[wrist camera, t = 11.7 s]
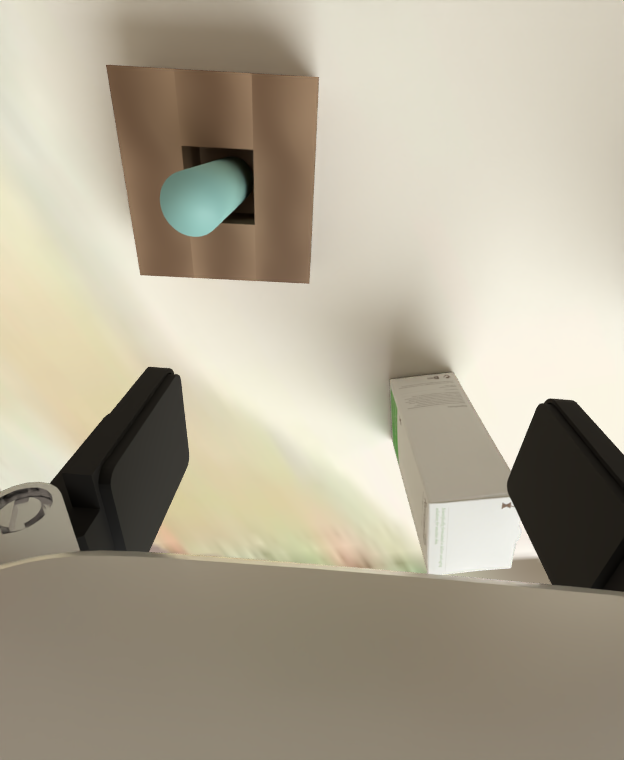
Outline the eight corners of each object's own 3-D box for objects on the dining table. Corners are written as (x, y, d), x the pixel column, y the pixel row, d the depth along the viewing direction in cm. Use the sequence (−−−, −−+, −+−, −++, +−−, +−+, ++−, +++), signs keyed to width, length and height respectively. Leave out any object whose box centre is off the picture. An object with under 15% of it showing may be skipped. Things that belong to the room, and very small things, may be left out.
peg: (253, 157, 30) (220, 172, 19) (254, 202, 31) (223, 238, 21) (211, 155, 30) (155, 168, 19) (214, 200, 31) (164, 235, 21)
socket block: (318, 86, 28) (318, 77, 24) (310, 262, 35) (309, 283, 30) (141, 76, 28) (106, 64, 24) (164, 255, 34) (140, 274, 30)
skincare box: (388, 376, 40) (424, 499, 27) (458, 369, 40) (531, 490, 26) (391, 444, 44) (423, 579, 31) (455, 438, 44) (515, 573, 30)
